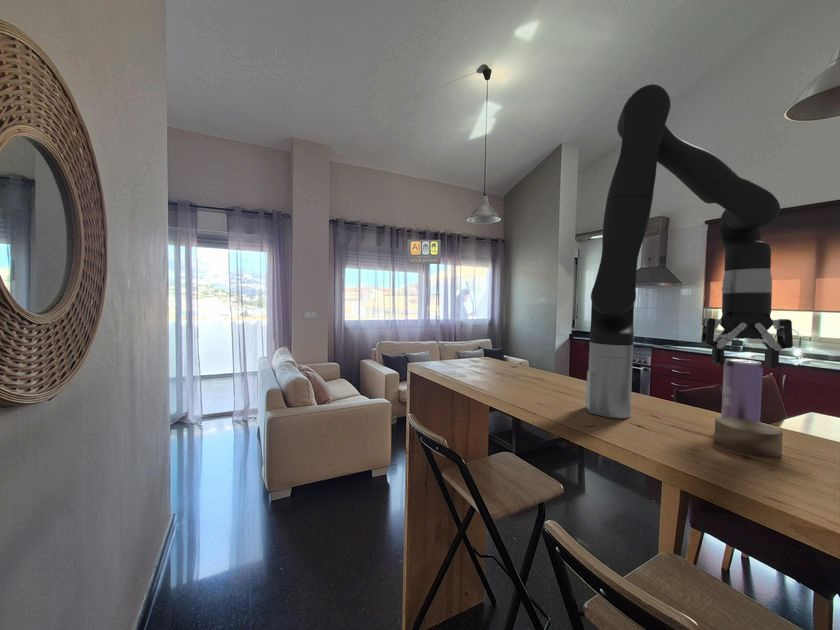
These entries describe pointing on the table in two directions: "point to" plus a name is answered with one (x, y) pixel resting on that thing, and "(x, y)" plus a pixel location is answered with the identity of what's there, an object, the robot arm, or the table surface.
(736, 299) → the robot arm
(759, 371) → the beverage can
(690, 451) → the table surface
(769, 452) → the plinth
